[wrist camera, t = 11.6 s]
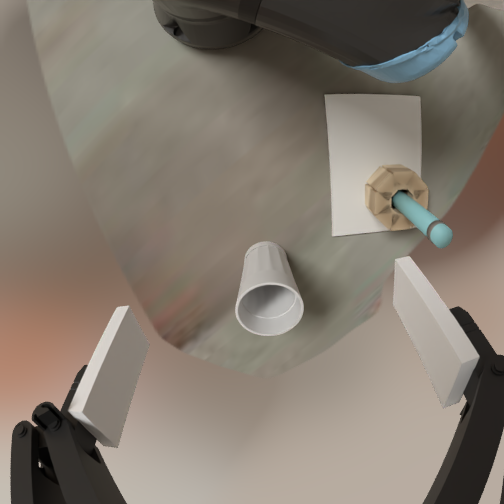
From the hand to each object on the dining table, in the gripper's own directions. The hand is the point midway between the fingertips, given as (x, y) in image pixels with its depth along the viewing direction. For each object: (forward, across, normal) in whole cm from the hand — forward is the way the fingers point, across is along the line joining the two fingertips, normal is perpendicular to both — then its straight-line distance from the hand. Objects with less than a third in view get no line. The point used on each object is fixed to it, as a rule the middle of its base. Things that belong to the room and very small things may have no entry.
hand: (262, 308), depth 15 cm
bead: (+29, +18, -7) cm, 35 cm away
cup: (+29, -2, -14) cm, 33 cm away
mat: (+29, +16, -3) cm, 34 cm away
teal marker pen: (+29, +18, -7) cm, 35 cm away
